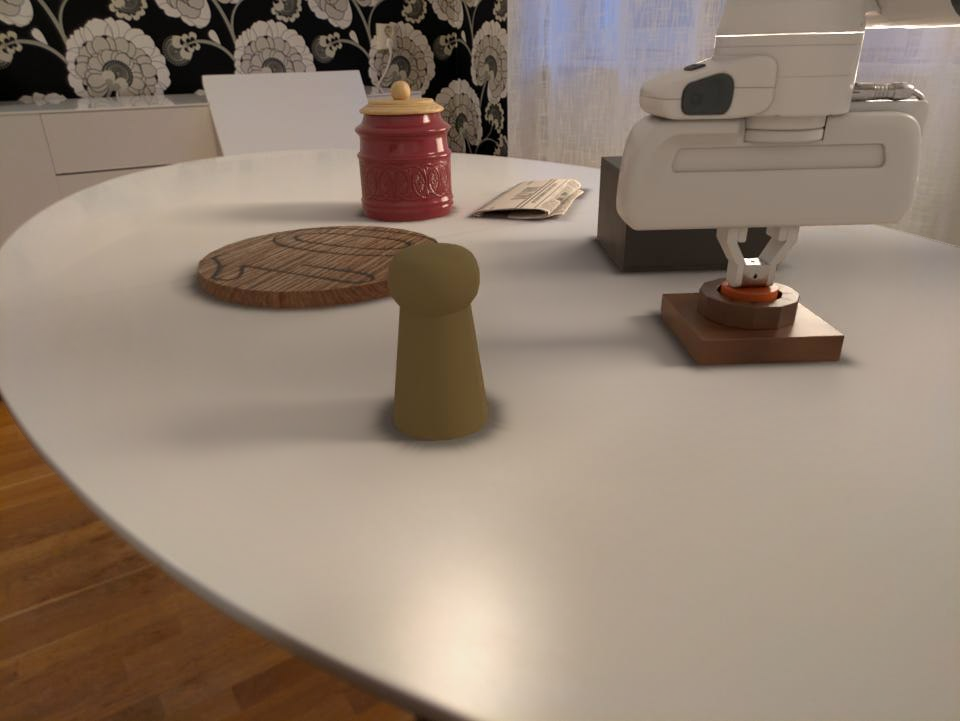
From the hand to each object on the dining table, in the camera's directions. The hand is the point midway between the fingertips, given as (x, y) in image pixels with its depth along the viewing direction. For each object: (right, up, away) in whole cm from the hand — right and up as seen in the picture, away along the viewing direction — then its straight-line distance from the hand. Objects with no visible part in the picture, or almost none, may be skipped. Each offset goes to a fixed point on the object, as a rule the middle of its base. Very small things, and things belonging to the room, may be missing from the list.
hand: (748, 284), depth 50 cm
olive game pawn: (-22, -10, -8) cm, 26 cm away
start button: (0, -2, +1) cm, 2 cm away
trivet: (-37, +4, +21) cm, 42 cm away
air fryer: (+1, +6, +24) cm, 25 cm away
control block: (0, -4, +2) cm, 5 cm away
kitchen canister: (-30, +15, +46) cm, 57 cm away
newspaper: (-11, +17, +50) cm, 54 cm away
